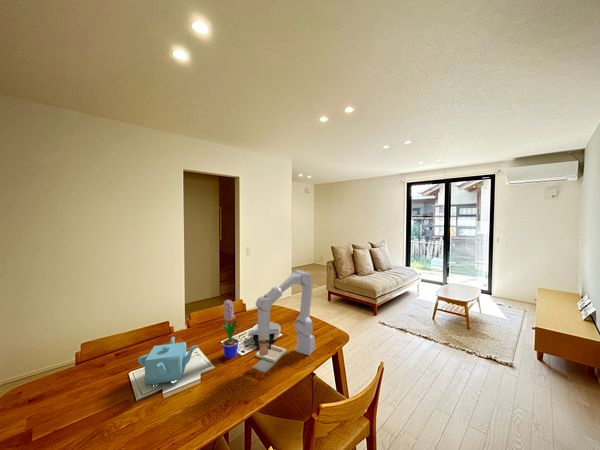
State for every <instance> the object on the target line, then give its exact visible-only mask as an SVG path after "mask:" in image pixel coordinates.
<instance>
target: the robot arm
mask: <svg viewBox="0 0 600 450" xmlns="http://www.w3.org/2000/svg"><path fill="white" fill-rule="evenodd" d="M293 285H300V286H301V288H302V290H301V298H300V299H301V300H300V307H299V315H298V316H297V317H296V320H295V322H294V325H293V326H294V329H295V331H296V339H297V340H296V347H295V348H294V349H293V351H294V352H297V353H300V354H304V355H307V356H310V355H311V354H312V353H313V351H315V350H316V344H315V343H316V342H315V341H316V340H315V339H316V337H315V336H314V335H312V333H313V330H314V327H313V321H312V319H311V317H310V316H311V315H310V314H311V306H312V305H311V303H312V296H313V295H312V294H313V287H314V285H313V276H312V274H311V273H310V272H305V271H303V270H299V269H296V270H294V271H293V272H291V273H290V275H289V277H287V278H286V279H285V281H283V282H282V283H281V284H280V285H279V286H278V287H276V286H275V287H272V288H271V290H269V291H268V292H267V293H265V294H264V295H263V296H259V297H258V298H257V299H256V302H255V306H256V307H257V324H258V329H256V330H253V329H252V330H251V329H250V330H248V337H251V336H252V341H253V342H254V344H255V347H256V351H257V352H259V344H258V341H259V340H258V335H269V350H270V348H271V345H273V344H272V343H273V341H274V340H273V339H274V334H276V335H279V336H280V334H279V329H271V328H270V322H271V321H270V320H271V318H270V314H271V313H270V310H271V309H272V306H273V305H274V304H275V302H276V301H278V300H279V299H280V298H281V297H282V296H283V293H284V292H285V291H287V290H288V289H289V288H290V287H292V286H293Z"/></svg>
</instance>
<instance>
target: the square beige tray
mask: <svg viewBox="0 0 600 450" xmlns="http://www.w3.org/2000/svg"><path fill="white" fill-rule="evenodd" d="M286 353H287V349H286V348H284V347H280V346H277V345H273V344H271V348H270V350H269V346H268V354H267V355H265V356H261V355H260V354H259V351H257V352H255V356H256V358H259V359H264V360H267V361H270V362H273V363H275V364H276V363H277V362H278V361H279V359H281V357H283V356H284V355H285V354H286Z"/></svg>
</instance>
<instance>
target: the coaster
mask: <svg viewBox="0 0 600 450" xmlns="http://www.w3.org/2000/svg"><path fill="white" fill-rule="evenodd" d="M274 365H276V362H275V363H274V362H271V361H268V360H265V359H262V358H260V360H258V362H257V363H255V365H253V366H252V369H254V370H257V371H259V372H261V373H264V374H266V373H267V372H269V371H270V369H271V368H273V366H274Z"/></svg>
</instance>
